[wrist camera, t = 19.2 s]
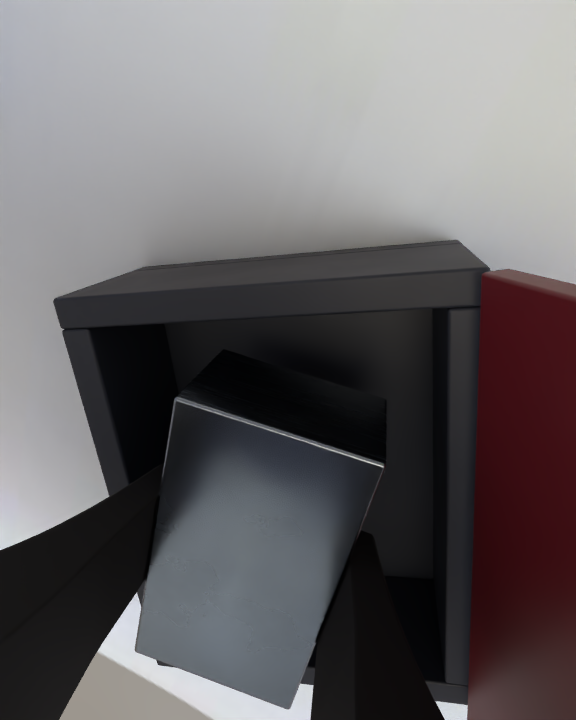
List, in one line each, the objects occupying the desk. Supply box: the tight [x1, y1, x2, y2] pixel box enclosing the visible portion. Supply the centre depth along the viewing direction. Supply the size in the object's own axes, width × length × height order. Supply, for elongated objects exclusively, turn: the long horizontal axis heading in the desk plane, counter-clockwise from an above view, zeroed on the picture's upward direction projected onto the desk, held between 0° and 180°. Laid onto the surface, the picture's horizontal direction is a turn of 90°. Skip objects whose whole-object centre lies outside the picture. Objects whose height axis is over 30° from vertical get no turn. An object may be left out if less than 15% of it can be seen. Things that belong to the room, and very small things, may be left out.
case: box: [53, 240, 490, 705], centre depth 14 cm, size 10×13×5 cm
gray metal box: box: [135, 349, 387, 709], centre depth 12 cm, size 4×8×3 cm, turn 166°
